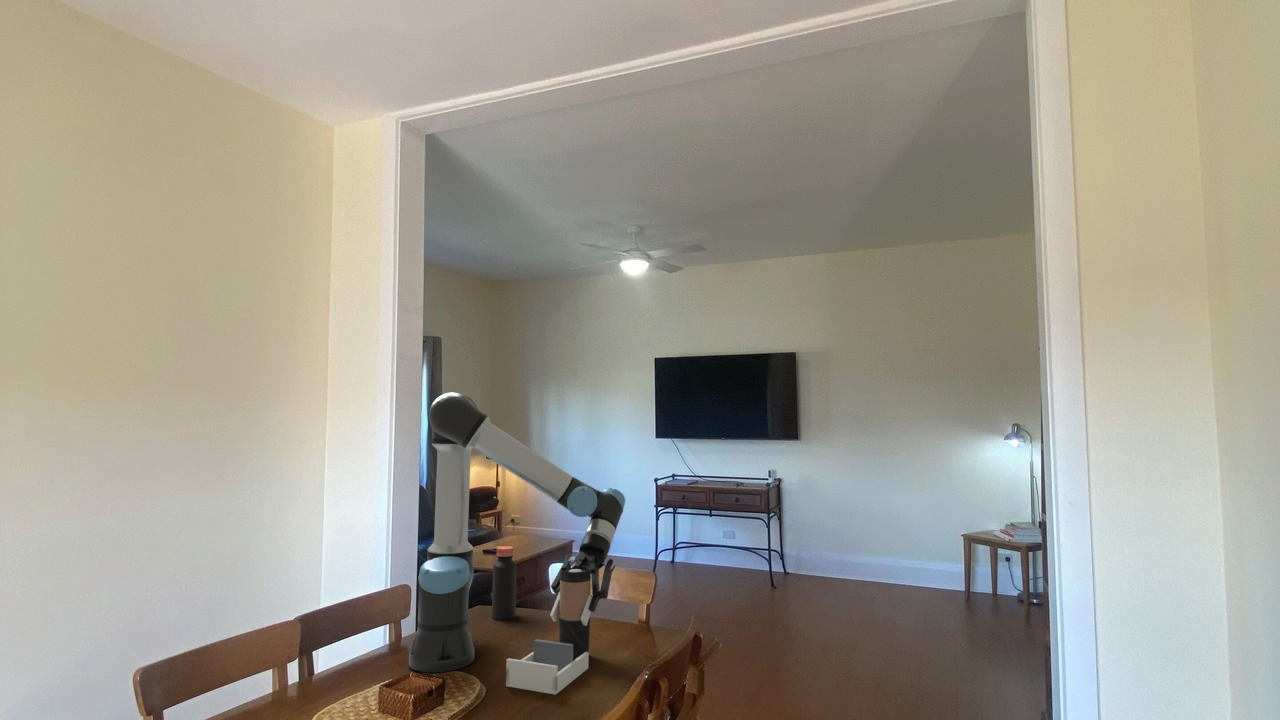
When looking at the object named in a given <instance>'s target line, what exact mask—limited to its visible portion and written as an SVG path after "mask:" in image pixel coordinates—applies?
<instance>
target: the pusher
mask: <svg viewBox="0 0 1280 720" xmlns="http://www.w3.org/2000/svg"><path fill="white" fill-rule="evenodd" d="M533 652H534V659H533V662H536V663H543V664H549V665H556V666H558V672H559V671H560V670H562V669H563V668H564V667H566V666H567V665H568V664H570V663H571V662H572V661H574V658H573V644H568V643H561V642H559V641H552V640H545V639H539V638H536V639H534V640H533Z"/></svg>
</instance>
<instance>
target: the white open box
mask: <svg viewBox="0 0 1280 720" xmlns="http://www.w3.org/2000/svg"><path fill="white" fill-rule="evenodd" d="M589 652H590V651H589ZM589 652H585V653H583V654H582V655H580V656H579V657H577V658H574V659H573V661H572V662H571V663H570V664H568V665H567V666H566V667H564V668H563V669H562V670H560V671H559V672H558V666H556V665H549V664H543V663H536V662H533V659H534V651H532V652H531V653H529V654H528V655H526V656H524V657H523V658H521V659H517V658H510V657H509V658H507V659H506V664H505V665H506V666H505V667H506V668H505V669H506V670H505V671H506V673H505V675H506V676H505V686H506V687H510V688H515V689H521V690H526V691H527V690H528V691H533V692H539V693H545V694H551V695H555V696H556V695H557V694H558V693H560V692H561V691H562V690H563V689H565V688H566V687H567V686H568V685H570V683H572V682H573V681H575V680H576V679H577V678H578V677H579V676H580V675H582V674H583V673H585V672H586V671H587V670H588V669H589V654H590V653H589Z"/></svg>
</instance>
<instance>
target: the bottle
mask: <svg viewBox="0 0 1280 720" xmlns="http://www.w3.org/2000/svg"><path fill="white" fill-rule="evenodd" d="M496 558H497V560H496V562H494V563H493V566H492V596H491V597H492V602H491V603H492V607H491V616H492V618H493V620H495V621H496V620H497V621H507V620H512V619H514V618H515V617H516V610H517V607H516V604H517V603H516V601H517V564H516V562H515V561H514V560H513V558H514V547H513V546H511V545H510V546H508V545H504V546H503V545H502V546H497V547H496Z"/></svg>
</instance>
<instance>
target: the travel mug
mask: <svg viewBox="0 0 1280 720" xmlns="http://www.w3.org/2000/svg"><path fill="white" fill-rule="evenodd" d="M560 569H561V570H560ZM560 569H559V570H560V603H559V616H558V629H559V630H558V631H559V632H558V635H559V637H558V639H559V641H558V642H561V643H568V644H573V659H576V658H578V657H579V656H580V655H582V654H583V653H585V652H590V631H591V629H590V628H591V616H590V617H589V620H588V623H587V626H585V625H583V623H582V621H581V620H580V619H581V616H582V613H583V610H584V608H585V605H586V602H587V599H588V597H589V595H591V589H592V575H591V570H590V568H589V567H586V566H574V565H573V566H571V568H569V569H566V568H565V567H563V568H560Z"/></svg>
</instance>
